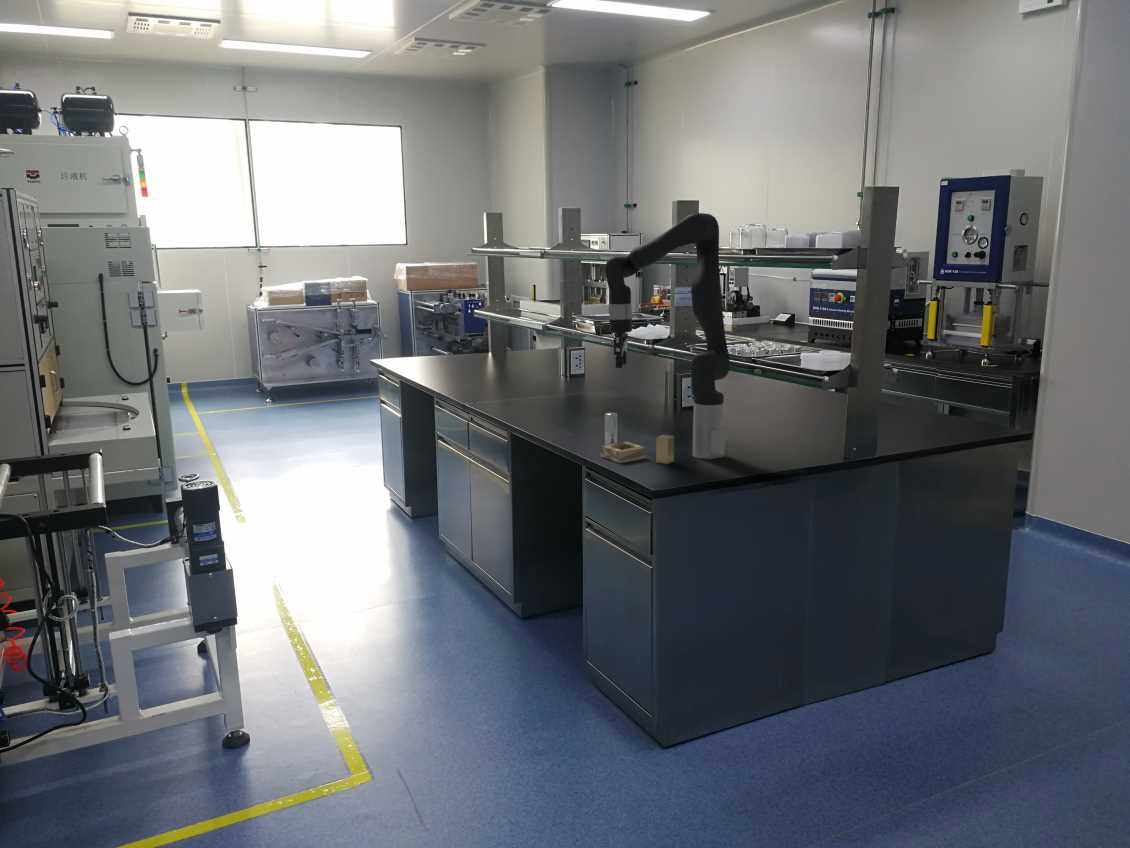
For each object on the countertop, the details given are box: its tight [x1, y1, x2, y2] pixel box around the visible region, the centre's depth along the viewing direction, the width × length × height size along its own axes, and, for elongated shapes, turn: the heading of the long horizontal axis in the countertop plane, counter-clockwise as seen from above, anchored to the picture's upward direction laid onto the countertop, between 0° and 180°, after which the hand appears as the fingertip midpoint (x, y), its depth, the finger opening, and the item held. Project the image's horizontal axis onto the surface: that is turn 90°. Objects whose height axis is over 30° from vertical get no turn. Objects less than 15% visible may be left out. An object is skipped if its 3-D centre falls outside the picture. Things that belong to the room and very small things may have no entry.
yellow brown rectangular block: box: [655, 434, 675, 465], centre depth 262 cm, size 4×4×8 cm
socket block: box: [600, 440, 646, 464], centre depth 268 cm, size 10×10×4 cm
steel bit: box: [604, 412, 618, 445], centre depth 277 cm, size 4×4×12 cm
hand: (621, 366), depth 286 cm, fingers open, 8 cm apart
